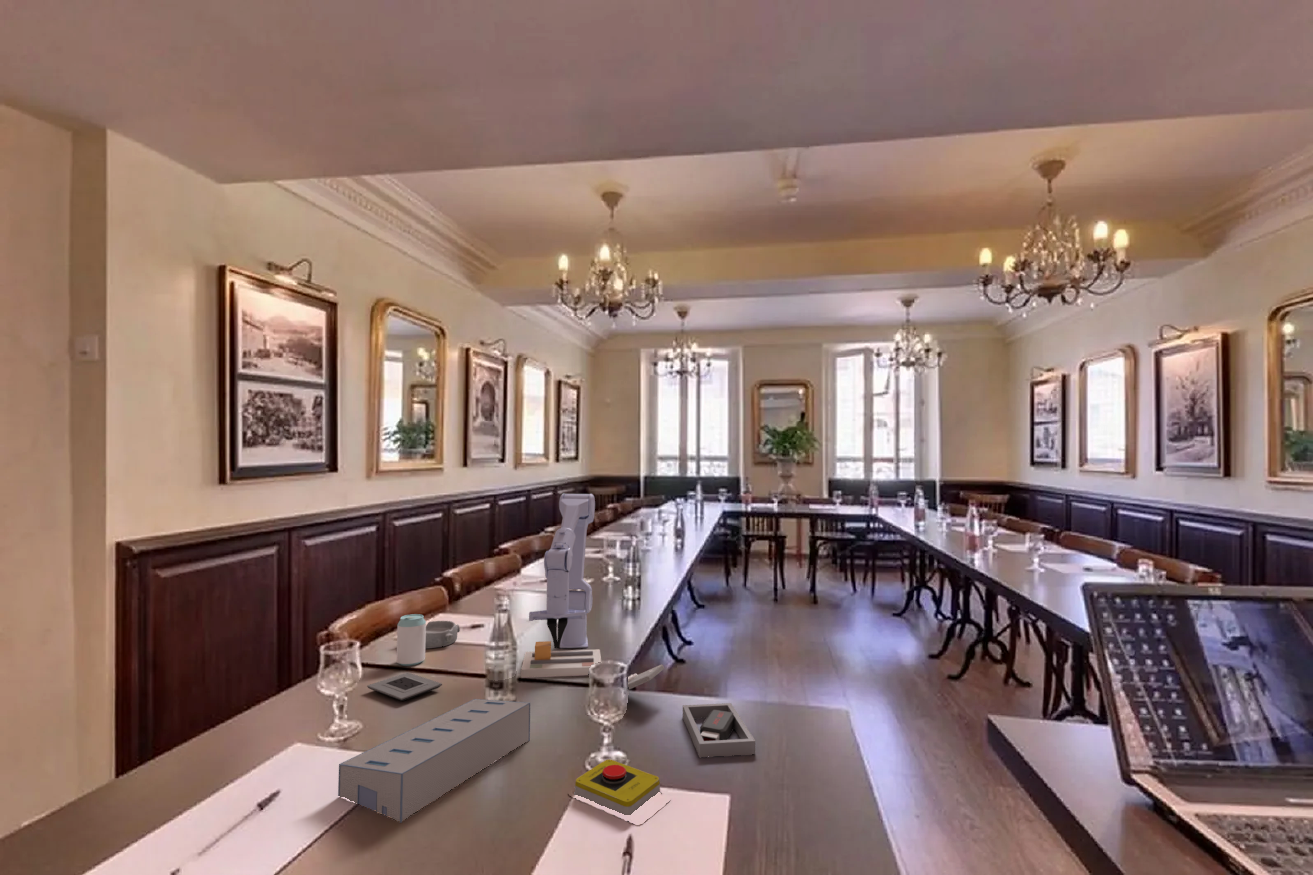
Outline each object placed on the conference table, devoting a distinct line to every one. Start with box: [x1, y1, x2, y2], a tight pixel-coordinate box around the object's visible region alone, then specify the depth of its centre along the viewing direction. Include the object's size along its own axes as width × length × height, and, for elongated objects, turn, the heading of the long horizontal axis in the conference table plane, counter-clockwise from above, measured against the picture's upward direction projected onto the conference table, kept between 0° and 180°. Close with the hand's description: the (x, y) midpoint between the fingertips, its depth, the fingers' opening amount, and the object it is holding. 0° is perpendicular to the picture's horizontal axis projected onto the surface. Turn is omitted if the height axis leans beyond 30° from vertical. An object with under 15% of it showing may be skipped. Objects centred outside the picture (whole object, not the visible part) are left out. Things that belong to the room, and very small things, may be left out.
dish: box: [425, 620, 461, 649], centre depth 178 cm, size 14×14×5 cm
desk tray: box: [682, 702, 756, 759], centre depth 120 cm, size 18×10×2 cm, turn 8°
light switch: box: [627, 664, 665, 690], centre depth 136 cm, size 8×6×14 cm
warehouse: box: [337, 698, 531, 824], centre depth 107 cm, size 30×14×8 cm, turn 153°
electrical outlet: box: [366, 671, 443, 702], centre depth 140 cm, size 13×10×2 cm
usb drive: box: [699, 710, 735, 741], centre depth 120 cm, size 5×12×3 cm, turn 159°
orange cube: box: [534, 640, 552, 660], centre depth 158 cm, size 4×4×4 cm
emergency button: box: [574, 758, 661, 815], centre depth 98 cm, size 9×4×15 cm
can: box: [396, 613, 427, 667], centre depth 161 cm, size 7×7×12 cm
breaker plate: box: [520, 648, 602, 679], centre depth 158 cm, size 14×20×3 cm
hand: (557, 647), depth 158 cm, fingers closed
